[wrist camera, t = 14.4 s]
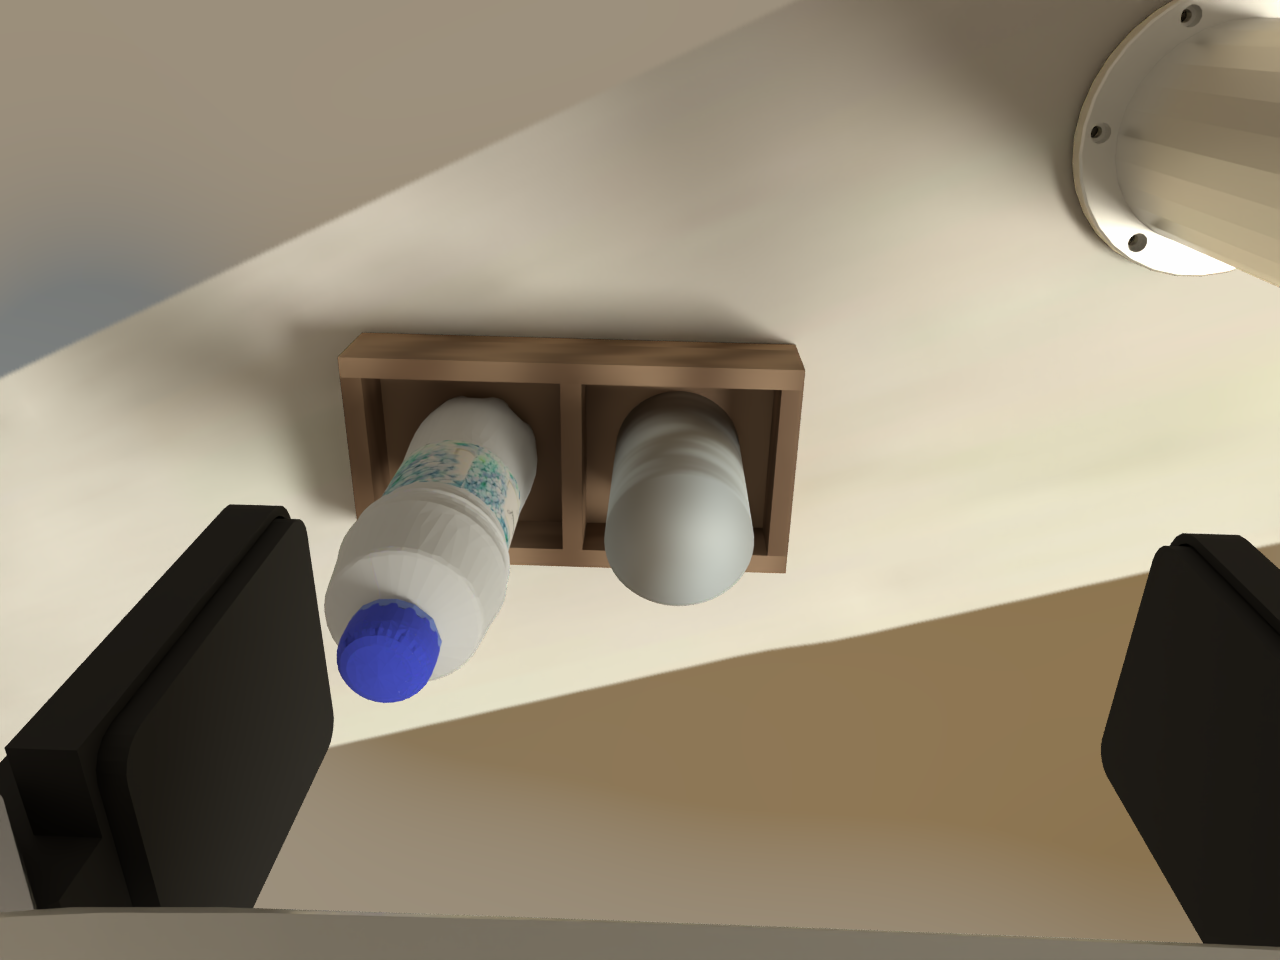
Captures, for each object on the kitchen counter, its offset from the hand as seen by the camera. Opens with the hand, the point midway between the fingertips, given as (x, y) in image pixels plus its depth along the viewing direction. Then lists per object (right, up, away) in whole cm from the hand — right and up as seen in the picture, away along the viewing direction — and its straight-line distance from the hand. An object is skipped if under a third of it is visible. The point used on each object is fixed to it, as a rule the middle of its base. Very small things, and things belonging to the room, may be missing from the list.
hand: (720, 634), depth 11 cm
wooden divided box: (-4, +4, +41) cm, 41 cm away
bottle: (-9, +4, +40) cm, 41 cm away
